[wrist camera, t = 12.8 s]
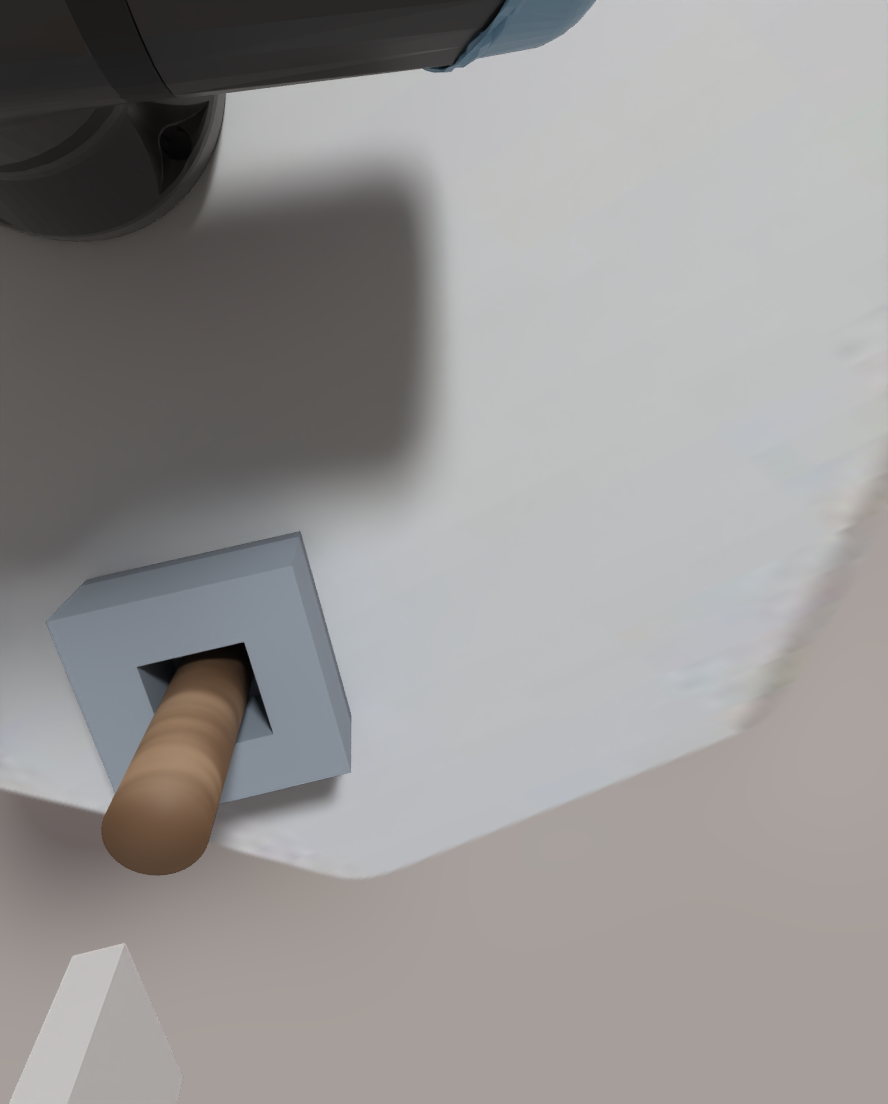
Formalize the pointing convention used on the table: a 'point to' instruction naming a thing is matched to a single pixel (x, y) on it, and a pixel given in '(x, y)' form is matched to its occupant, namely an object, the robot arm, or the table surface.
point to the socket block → (203, 624)
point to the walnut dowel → (180, 765)
